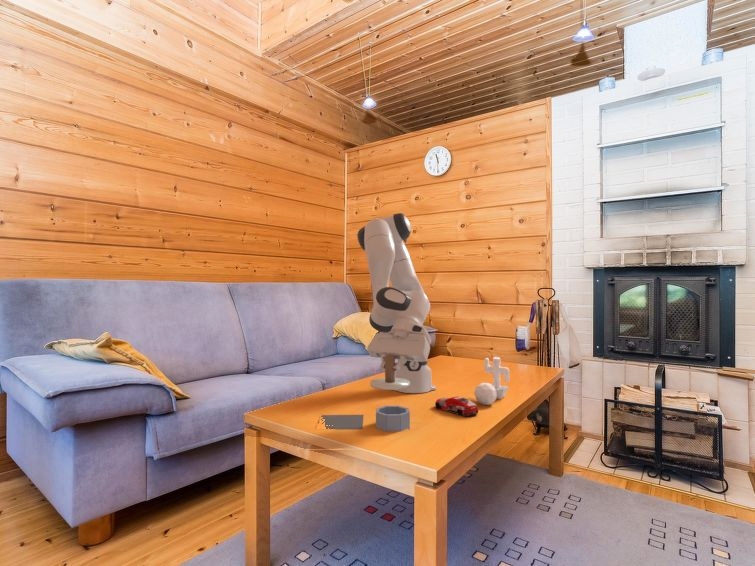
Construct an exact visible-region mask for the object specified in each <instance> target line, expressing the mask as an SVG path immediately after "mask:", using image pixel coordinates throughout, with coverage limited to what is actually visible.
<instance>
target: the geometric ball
mask: <svg viewBox="0 0 755 566" xmlns="http://www.w3.org/2000/svg"><path fill="white" fill-rule="evenodd" d="M491 384H492V383H489V382H481V383H480V384H478V385H477V386H476V387H475V389H474V393H473V394H474V397H475V400H476V402H478V403H479V404H480V405H483V406H487V405H488V406H490V405H491V404H493V403H494V402H495V401H496V400H497V398H496V397H497V393H496V390H495V388H494V387H493V386H492V385H491Z"/></svg>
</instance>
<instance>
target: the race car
mask: <svg viewBox="0 0 755 566" xmlns="http://www.w3.org/2000/svg"><path fill="white" fill-rule="evenodd" d="M434 403H435V404H434V406H435V407H436V409H437V410H443V411H446V412H450V413H451V414H452V413H453V414H455V415H458V416H459V417H460V416H461V417H463V416H464V417H465V416H467V417H468V416H474V415H477V414H478V413H479V409H478V405H477V404H476V403H474V402H473V401H471V400H470V399H467V398H466V397H462V396H453V397H443V398H442V397H441V398H438V399H436V401H435V402H434Z"/></svg>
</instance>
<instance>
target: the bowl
mask: <svg viewBox="0 0 755 566" xmlns="http://www.w3.org/2000/svg"><path fill="white" fill-rule="evenodd" d="M410 415H411V413H410V409H409V407H405V406H402V405H382V406H380V407H379V406H378V407H376V408H375V428H376V429H377V430H381V431H383V432H403V431H405V430H410V429H411V427H410V426H411V423H410V422H411V421H410V420H411V418H410Z"/></svg>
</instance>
